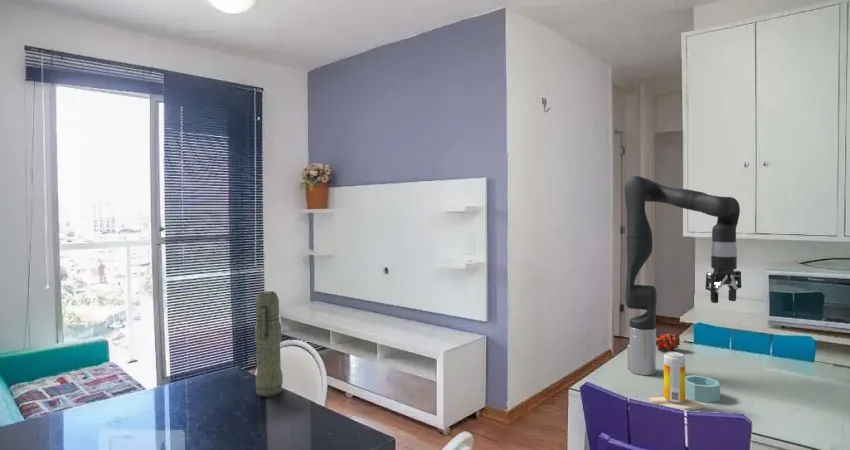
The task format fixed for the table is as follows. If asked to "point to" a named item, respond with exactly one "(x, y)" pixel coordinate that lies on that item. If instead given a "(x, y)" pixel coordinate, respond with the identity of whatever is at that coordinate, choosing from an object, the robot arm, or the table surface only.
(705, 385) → the can holder
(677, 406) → the birch board
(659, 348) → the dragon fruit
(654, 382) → the table surface
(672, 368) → the beer can
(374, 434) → the table surface
